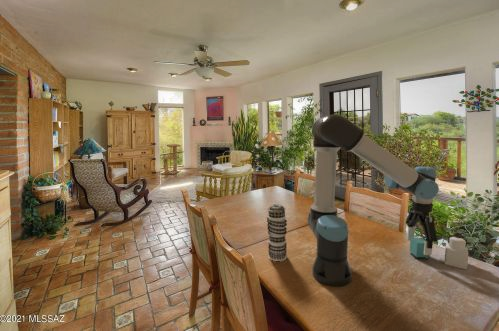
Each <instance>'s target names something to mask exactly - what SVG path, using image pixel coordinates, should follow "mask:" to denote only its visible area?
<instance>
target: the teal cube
mask: <svg viewBox="0 0 499 331" xmlns="http://www.w3.org/2000/svg"><path fill="white" fill-rule="evenodd" d="M425 239H426V238H424V237H414V238H410V241H409V253H412V254H413V255H414V256H416V257H427V258H428V259H429V258H430V257H431V255H424V243H425Z"/></svg>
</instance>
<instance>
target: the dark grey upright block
mask: <svg viewBox="0 0 499 331" xmlns="http://www.w3.org/2000/svg"><path fill="white" fill-rule="evenodd" d="M409 254H410V256H412V257H413V258H414V260H426V261H427V260H429V257H416V256H414V255H413V254H412V253H411V252H409Z"/></svg>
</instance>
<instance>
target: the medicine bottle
mask: <svg viewBox="0 0 499 331" xmlns="http://www.w3.org/2000/svg"><path fill="white" fill-rule="evenodd" d="M447 239H448V240H447V242H446V244H445V252H444V265H447V266H451V267H455V268H459V269H461V270H468V261H469V249H468V246H467V245H468V239H466V238H465V237H463V236H461V235H455V234H451V235H449V236H448V238H447Z"/></svg>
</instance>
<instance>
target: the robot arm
mask: <svg viewBox="0 0 499 331" xmlns="http://www.w3.org/2000/svg"><path fill="white" fill-rule="evenodd" d="M311 134H312V138H313V143H312V144H313V145H312V147H313V148H314V149H315V151H316V156H315V158H316V159H315V160H316V161H315V180H314V181H315V182H314V200H313V201H314V202H313V203H312V204H311V205H310V208H309V209H310V211H309V213H308V215H307V224H308V226H309V229H310V230H311V232H312V234H313V236H314V237H315V239H316V257H315V259H314V262H313V265H312V270H311V272H312V276H313V278H315V280H316V281H318V282H320V283H321V284H323V285H327V286H331V287H343V286H344V287H345V286H347V285H348V284H350V283H351V282H352V269H351V267H350V263H349V260H348V248H349V246H348V244H349V226H348V223H347V221H346V220H345V219H343V218H342V217H339V216H338V207H336V205H335V193H336V179H337V177H336V176H337V161H338V152H339V150H341V149H342V150H344V151H345V152H351V153H353V154H355V155H356V156H357V157H359V158H360V159H362V160H363V161H365V163H368V164H369V165H370V166H372V167H373V168H375V169H376V170H377V171H378V172H380V173H382V174H383V175H385V177H384V183H385V186H386V188H387V189H389V190H401V191H402V192H403V191H404V192H406V193H407V194H410V195H412V198H411V199H412V201H411V207H410V208H409V213H408V215H407V218H406V220H405V224H406V225H407V227H408V228H407V235H406V236H407V237H406V240H407V241H409V242H410V238H415V235H416V234H415V233H416V232H415V231H416V224H417V223H419V225H420V226H421V227H422V230H423V233H424V236H425V238H424V239H425V243H424V255H430V256H432V253H433V246H434V242H438V237H437V233H436V231H437V230H436V227H435V217H434V216H430V213H432V212H433V210H434V209H433V207H434V204H433V202H434V199H435V197H436V196H437V195H438V194H439V191H440V188H439V184H438V183H437V182H436V179H437V170H436V168H434V167H433V166H422V165H421V166H416V167H415V168H414V169H413V168H412V167H411V166H409V165H408V164H406V163H404V162H403V161H402V160H401V159H400V158H398V157H396V156H395V155H393V154H392V153H390V152H389V150H387V149H385V148H384V147H382V146H381V145H380V144H378V143H377V142H376V141H374V140H373V139H371V138H370V137H368V136H367V135H366V133H365V130H364V129H362V128H361V127H359V126H358V125H356V124H355V123H354V122H353V121H351V120H350V119H348V118H347V117H345V116H344V115H342V114H336V113H335V114H329V115H328V114H327V115H323V116H320V117H319V118H318V119H316V120H315V121H314V122H313V125H312V126H311Z"/></svg>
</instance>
